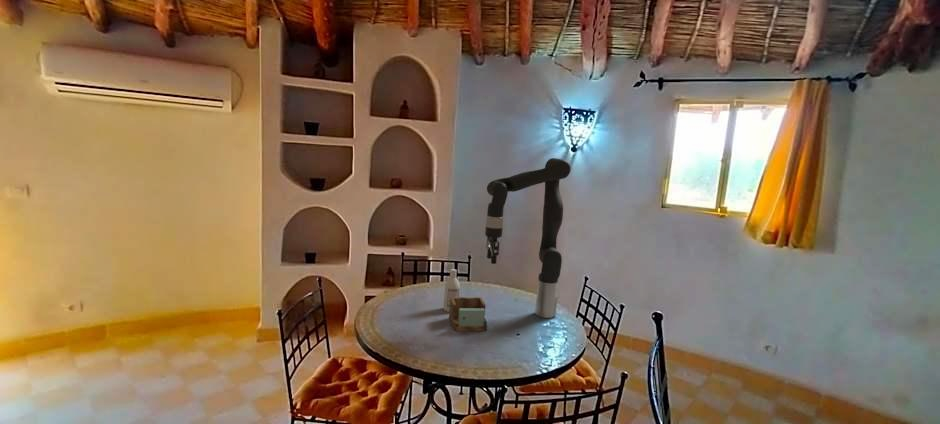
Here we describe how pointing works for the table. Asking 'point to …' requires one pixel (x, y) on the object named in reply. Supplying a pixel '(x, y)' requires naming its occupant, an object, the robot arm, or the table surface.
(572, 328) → the table surface
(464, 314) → the block
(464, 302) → the cabinet
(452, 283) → the bath foam
